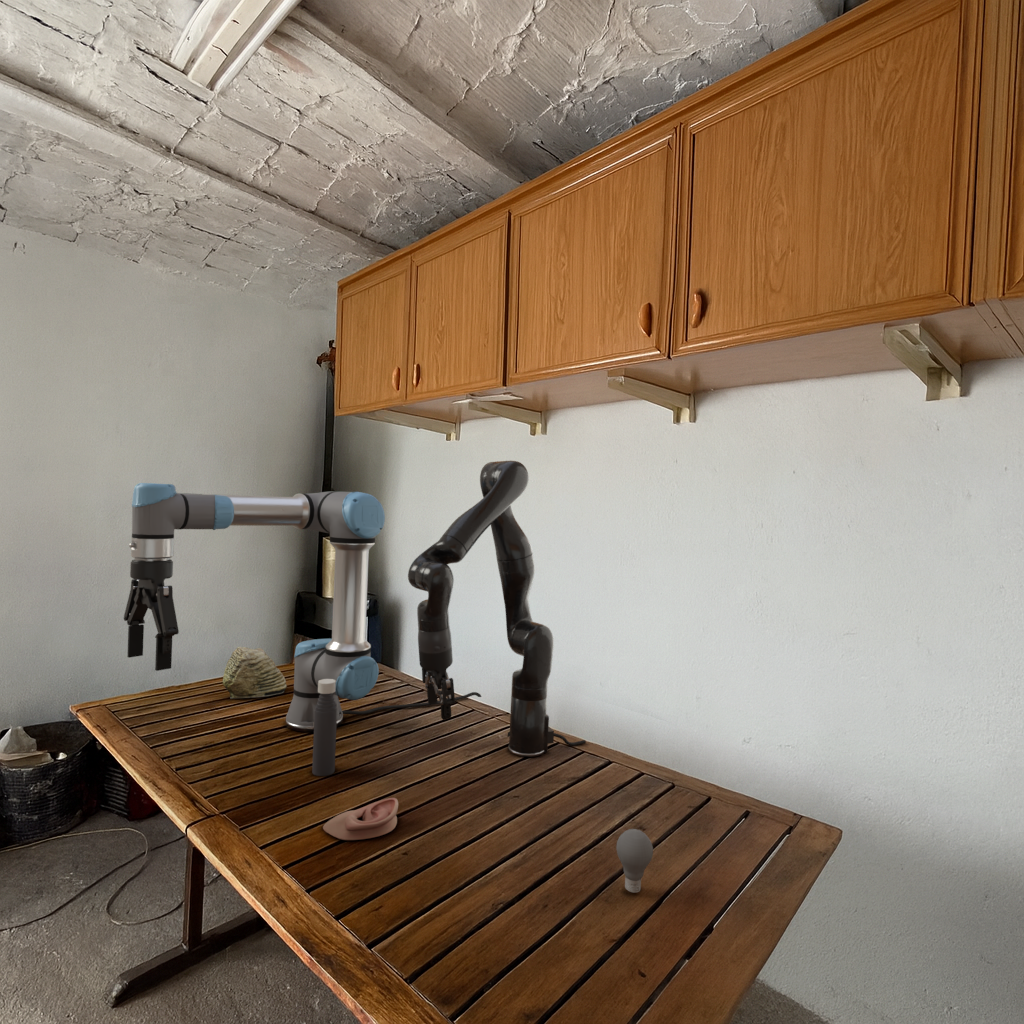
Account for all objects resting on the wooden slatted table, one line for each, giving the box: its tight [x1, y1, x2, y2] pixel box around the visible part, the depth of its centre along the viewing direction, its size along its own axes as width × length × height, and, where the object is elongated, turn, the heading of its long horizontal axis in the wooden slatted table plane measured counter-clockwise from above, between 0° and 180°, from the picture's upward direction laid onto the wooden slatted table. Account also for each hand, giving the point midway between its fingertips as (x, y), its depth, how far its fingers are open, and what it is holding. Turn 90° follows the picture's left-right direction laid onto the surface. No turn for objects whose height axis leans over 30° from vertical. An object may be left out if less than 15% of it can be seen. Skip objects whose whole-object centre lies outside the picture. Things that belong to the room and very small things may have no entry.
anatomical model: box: [322, 797, 399, 841], centre depth 122 cm, size 13×4×12 cm
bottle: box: [311, 693, 337, 777], centre depth 146 cm, size 5×5×21 cm
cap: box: [318, 679, 336, 694], centre depth 146 cm, size 4×4×2 cm
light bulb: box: [615, 828, 654, 894], centre depth 106 cm, size 6×6×10 cm
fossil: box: [222, 646, 288, 699], centre depth 198 cm, size 9×18×15 cm, turn 132°
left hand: (148, 662), depth 129 cm, fingers open, 13 cm apart
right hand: (439, 710), depth 147 cm, fingers open, 8 cm apart
